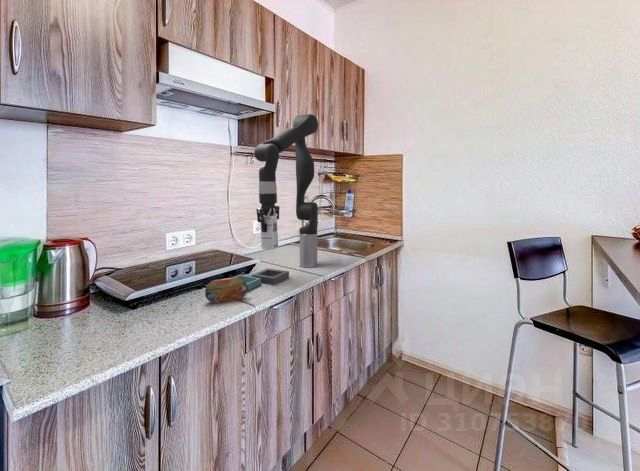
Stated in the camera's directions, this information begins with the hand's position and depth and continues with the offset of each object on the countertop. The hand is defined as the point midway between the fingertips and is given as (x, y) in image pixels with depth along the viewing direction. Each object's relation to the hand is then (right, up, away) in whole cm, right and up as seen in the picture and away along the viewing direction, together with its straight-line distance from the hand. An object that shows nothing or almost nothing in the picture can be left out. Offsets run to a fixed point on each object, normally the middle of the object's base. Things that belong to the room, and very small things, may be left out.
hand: (269, 230), depth 136 cm
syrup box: (0, -8, +1) cm, 8 cm away
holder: (0, -22, +4) cm, 22 cm away
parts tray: (-11, -24, -7) cm, 27 cm away
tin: (-12, -26, -21) cm, 36 cm away
